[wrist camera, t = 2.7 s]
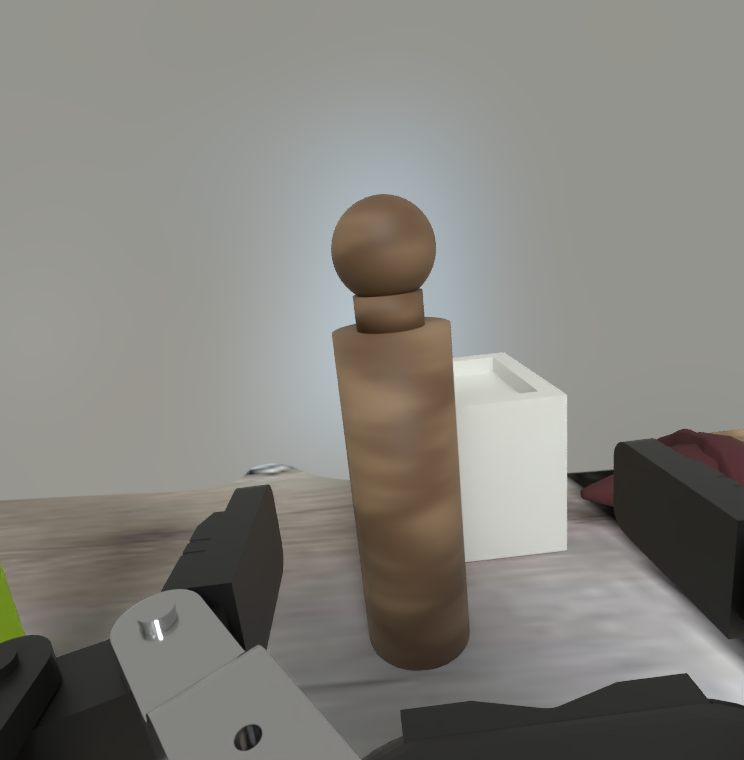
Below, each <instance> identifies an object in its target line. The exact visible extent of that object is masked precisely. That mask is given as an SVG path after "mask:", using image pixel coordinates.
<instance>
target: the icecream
mask: <svg viewBox="0 0 744 760" xmlns="http://www.w3.org/2000/svg"><path fill="white" fill-rule="evenodd" d="M657 440H658V441H660V442H661V443H663V444H664V445H666V446H668V447H669V448H671V449H673V450H674V451H676V452H678V453H679V454H681V455H683V456H684V457H686V458H689V459H692V460H695V461H698V462H701V463H704V464H707V465H709V466H711V467H712V468H714V469H716V470H717V471H719V472H721V473H722V474H724V475H726V478H731V479H733V480H734V481H736V482H738V483H739V484H741V485H742V488H743V487H744V442H742V441H740V440H738V439H736V438H734V437H732V436H727V435H719V434H712V433H704V432H698V433H696V432H694V431H692V430H688V429H682V430H679V431H677V432H675V433H673V434H671V435H668V436H664V437H661V438H659V439H657ZM613 487H614V474H613V475H611V476H609V477H606V478H604V479H602V480H600V481H598V482H596V483H594V484H592V485H590V486H588V487H586V488H584V489H582V490H581V497H582V498H583V499H586V500H589V501H592V502H596V503H600V504H604V505H608V506H612V507H613Z"/></svg>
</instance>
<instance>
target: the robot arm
mask: <svg viewBox="0 0 744 760" xmlns="http://www.w3.org/2000/svg"><path fill="white" fill-rule="evenodd" d="M613 507H614V513H615V517H616V520H617V522H618V525H619V526H620V528H621V530H622V531H623V532H624V533H625V534H626V535H627V536H628V537H629V539H630V540H631V541H632V542H633V543H634V544H635V545H636V546H637V547H638V548H639V549H640V550H641V551H642V552H643V553H644V554H645V555H646V556H647V557H648V558H649V559H650V560H651V561H652V562H653V563H654V564H655V565H656V566H657V567H658V568H659V569H660V570H661V571H662V572H663V573H664V574H665V575H666V576H667V577H668V578H669V579H670V580H671V581H672V582H673V583H674V584H675V585H676V586H677V587H678V588H679V589H680V591H681V592H682V593H683V594H684V595H685V596H686V597H687V598H688V599H689V600H690V601H691V602H692V603H693V604H694V605H695V606H696V607H697V608H698V609H699V610H700V611H701V612H702V613H703V614H704V615H705V616H706V617H707V618H708V619H709V620H710V621H711V622H712V623H713V624H714V625H715V626H716V627H717V628H718V629H719V630H720V631H721V632H722V633H723V634H724V635H725V636H726V637H727V638H728V639H734V638H742V637H744V487H743V488H742V485H741V484H739V483H738V482H736V481H734V480H733V479H731V478H726V475H724V474H722V473H721V472H719V471H717V470H716V469H714V468H712V467H711V466H709V465H707V464H704V463H701V462H698V461H695V460H692V459H689V458H686V457H684V456H683V455H681V454H679V453H678V452H676V451H674V450H673V449H671V448H669V447H668V446H666V445H664V444H663V443H661V442H660V441H658V440H656V439H653V438H651V439H643V440H635V441H627V442H620V443H618V444H617V446H616V447H615V450H614V487H613ZM282 573H283V549H282V542H281V536H280V531H279V525H278V520H277V514H276V508H275V503H274V497H273V493H272V489H271V487H270V485H261V486H253V487H245V488H237V489H236V490H235V491H234V493H233V495H232V497H231V500H230V502H229V504H228V506H227V508H226V510H225V511H223V512H215V513H213V514H212V515H210V516H209V517H208V518H207V519H206V520H205V521H203V522H202V523H201V524H200V525H199V526H198V527H197V528H196V530H195V532H194V534H193V535H192V537H191V539H190V543H189V544H187V546H186V548H185V550H184V552H183V556H181V557H180V559H179V560H178V562H177V564H176V566H175V568H174V569H173V571H172V573H171V575H170V576H169V578H168V580H167V582H166V584H165V585H164V587H163V589H162V591H161V592H160V593H157V594H154V595H152V596H149V597H147V598H145V599H143V600H141V601H139V602H138V603H136V604H135V605H133V606H132V607H130V608H129V609H128V610H126V611H125V612H124V613H123V614H122V615H121V616H120V617H119V618H118V620H117V621H116V622H115V624H114V626H113V627H112V630H111V633H110V639H108V640H106V641H103V642H101V643H98V644H95V645H92V646H90V647H87V648H84V649H81V650H78V651H75V652H72V653H69V654H66V655H63V656H60V657H57V658H56V657H55V654H54V651H53V648H52V645H51V642H50V641H49V640H48V639H47V638H45V637H43V636H39V635H29V636H22V637H17V638H13V639H10V640H7V641H4V642H2V643H0V760H361V759H360V757H359V756H358V755H357V754H356V753H355V752H354V751H353V749H352V748H351V747H350V746H349V745H348V744H347V743H346V741H345V740H344V739H343V738H342V737H341V736H340V734H339V733H338V732H337V731H336V730H335V729H334V728H333V726H332V725H331V724H330V723H329V722H328V721H327V720H326V718H325V717H324V716H323V715H322V714H321V713H320V711H319V710H318V709H317V708H316V707H315V706H314V705H313V703H312V702H311V701H310V700H309V699H308V698H307V697H306V695H305V694H304V693H303V692H302V691H301V690H300V688H299V687H298V686H297V685H296V684H295V683H294V682H293V680H292V679H291V678H290V677H289V676H288V675H287V674H286V672H285V671H284V670H283V669H282V668H281V667H280V665H279V664H278V663H277V662H276V661H275V660H274V659H273V657H272V656H271V655H270V654H269V653H268V652H267V651H266V649H267V644H268V640H269V635H270V630H271V626H272V621H273V616H274V611H275V607H276V602H277V597H278V593H279V588H280V583H281V578H282ZM400 712H401V721H402V730H403V736H402V737H400V738H397V739H395V740H393V741H390V742H388V743H387V744H385V745H383V746H381V747H380V748H378V749H376V750H374V751H373V752H371V753H370V754H369V755H367V756H366V757H365V758H363V759H362V760H744V706H743V705H740V704H736V703H731V702H726V701H721V700H716V699H707V698H706V696H705V695H704V694H703V693H702V691H701V690H700V689H699V688H698V686H697V685H696V684H695V683H694V681H693V680H692V679H691V678H690V676H689V675H688V674H687V673H685V674H677V675H669V676H661V677H654V678H646V679H638V680H630V681H623V682H616V683H614V684H611V685H609V686H607V687H604V688H602V689H599V690H597V691H595V692H592V693H590V694H587V695H585V696H583V697H580V698H578V699H575V700H573V701H571V702H568V703H566V704H563V705H561V706H558V707H555V708H535V707H525V706H515V705H506V704H496V703H486V702H476V701H467V702H459V703H452V704H444V705H436V706H428V707H421V708H413V709H405V710H400Z"/></svg>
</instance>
